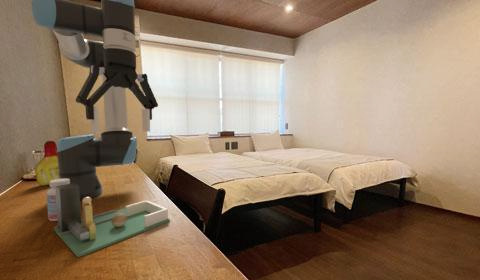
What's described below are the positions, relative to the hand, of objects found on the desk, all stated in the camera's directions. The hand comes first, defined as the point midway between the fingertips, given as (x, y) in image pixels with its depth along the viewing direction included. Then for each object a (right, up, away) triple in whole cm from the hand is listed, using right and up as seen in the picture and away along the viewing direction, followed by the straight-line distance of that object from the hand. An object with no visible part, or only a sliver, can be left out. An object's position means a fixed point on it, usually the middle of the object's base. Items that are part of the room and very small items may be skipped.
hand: (123, 132), depth 60 cm
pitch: (-2, -26, +1) cm, 26 cm away
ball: (0, -23, -1) cm, 23 cm away
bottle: (-55, -23, +43) cm, 73 cm away
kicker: (-9, -25, -5) cm, 27 cm away
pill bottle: (-21, -25, +6) cm, 34 cm away
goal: (+4, -25, +4) cm, 26 cm away
